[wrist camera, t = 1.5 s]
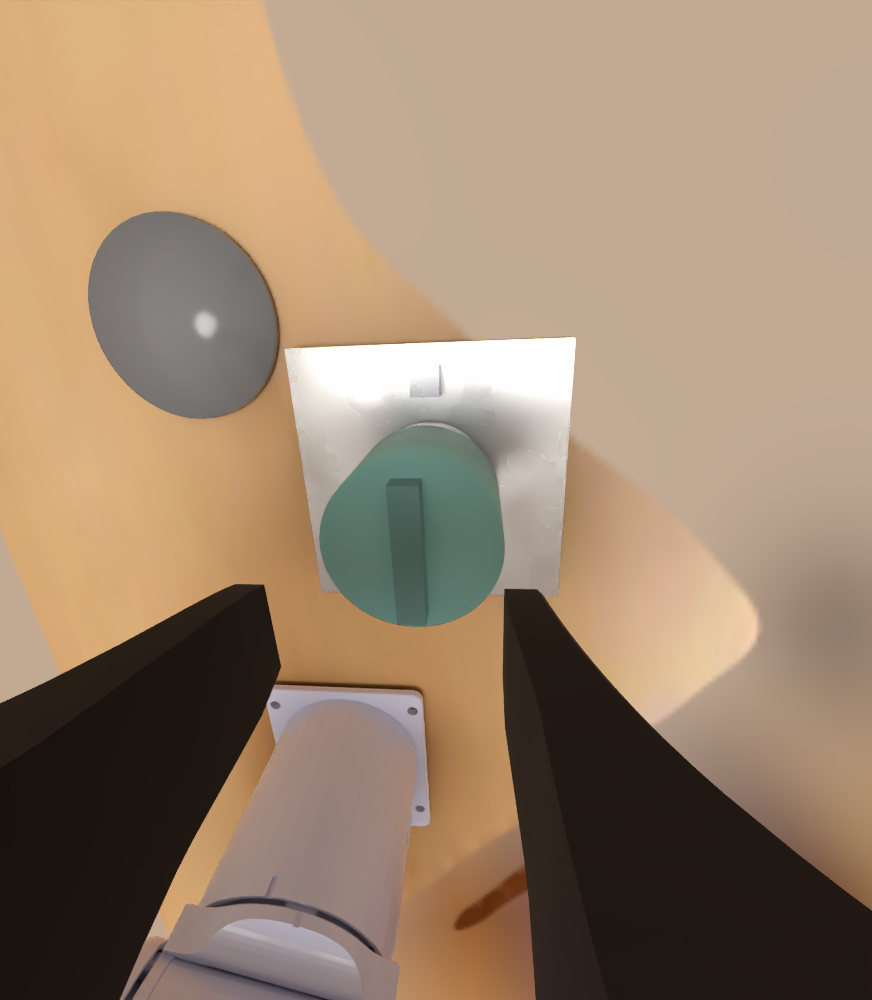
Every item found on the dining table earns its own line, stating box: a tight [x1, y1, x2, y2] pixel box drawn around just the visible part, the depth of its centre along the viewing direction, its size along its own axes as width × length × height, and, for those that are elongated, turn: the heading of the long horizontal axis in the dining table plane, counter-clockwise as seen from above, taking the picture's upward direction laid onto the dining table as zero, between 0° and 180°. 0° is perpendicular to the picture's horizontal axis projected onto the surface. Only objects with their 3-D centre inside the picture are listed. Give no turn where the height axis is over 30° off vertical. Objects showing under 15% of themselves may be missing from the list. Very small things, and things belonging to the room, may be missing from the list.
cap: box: [319, 425, 505, 627], centre depth 14 cm, size 5×5×5 cm
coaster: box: [88, 212, 279, 419], centre depth 17 cm, size 7×7×1 cm
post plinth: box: [284, 337, 576, 596], centre depth 17 cm, size 10×10×2 cm
